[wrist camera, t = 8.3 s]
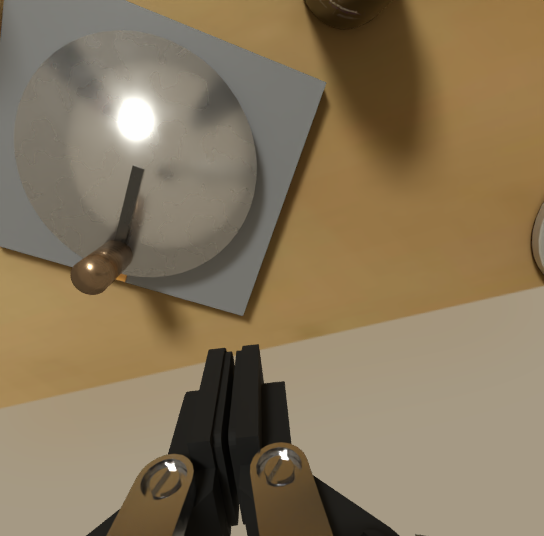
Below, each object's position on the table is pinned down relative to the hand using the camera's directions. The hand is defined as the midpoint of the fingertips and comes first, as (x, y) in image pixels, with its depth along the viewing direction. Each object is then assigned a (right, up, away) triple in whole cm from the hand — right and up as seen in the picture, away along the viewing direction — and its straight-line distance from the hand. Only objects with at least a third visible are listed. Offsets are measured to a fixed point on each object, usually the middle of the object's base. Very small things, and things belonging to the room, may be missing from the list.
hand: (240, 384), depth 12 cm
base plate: (-9, +12, +17) cm, 23 cm away
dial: (-9, +12, +15) cm, 21 cm away
